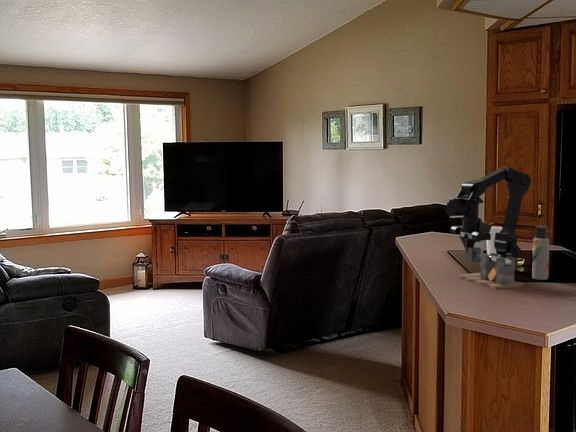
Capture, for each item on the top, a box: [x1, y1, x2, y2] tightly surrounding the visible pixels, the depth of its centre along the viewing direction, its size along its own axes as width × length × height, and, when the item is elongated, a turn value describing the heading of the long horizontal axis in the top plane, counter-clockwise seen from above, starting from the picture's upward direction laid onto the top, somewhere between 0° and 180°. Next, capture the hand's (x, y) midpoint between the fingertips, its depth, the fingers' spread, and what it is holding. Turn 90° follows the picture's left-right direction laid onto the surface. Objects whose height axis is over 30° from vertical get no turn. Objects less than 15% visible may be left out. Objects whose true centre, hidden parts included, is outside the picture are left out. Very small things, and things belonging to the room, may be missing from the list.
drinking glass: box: [485, 225, 503, 257], centre depth 281 cm, size 7×7×15 cm
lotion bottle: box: [531, 224, 550, 281], centre depth 244 cm, size 6×6×20 cm
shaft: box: [467, 247, 512, 265], centre depth 239 cm, size 22×4×6 cm, turn 19°
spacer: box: [488, 267, 496, 282], centre depth 235 cm, size 2×5×5 cm
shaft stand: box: [456, 253, 524, 290], centre depth 240 cm, size 23×12×10 cm, turn 19°
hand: (469, 255), depth 251 cm, fingers closed
